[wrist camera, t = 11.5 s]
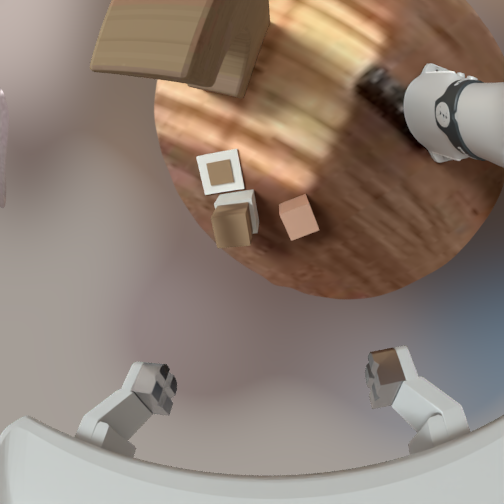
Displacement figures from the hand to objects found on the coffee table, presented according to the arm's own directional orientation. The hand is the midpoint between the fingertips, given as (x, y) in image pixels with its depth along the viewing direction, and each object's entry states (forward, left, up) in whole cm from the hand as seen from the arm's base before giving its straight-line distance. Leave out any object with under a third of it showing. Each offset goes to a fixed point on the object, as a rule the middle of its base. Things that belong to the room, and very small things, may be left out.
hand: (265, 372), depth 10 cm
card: (+9, 0, -39) cm, 40 cm away
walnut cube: (+7, +7, -34) cm, 36 cm away
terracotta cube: (-3, +9, -39) cm, 40 cm away
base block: (+7, +7, -39) cm, 41 cm away
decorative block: (+3, -20, -39) cm, 44 cm away
